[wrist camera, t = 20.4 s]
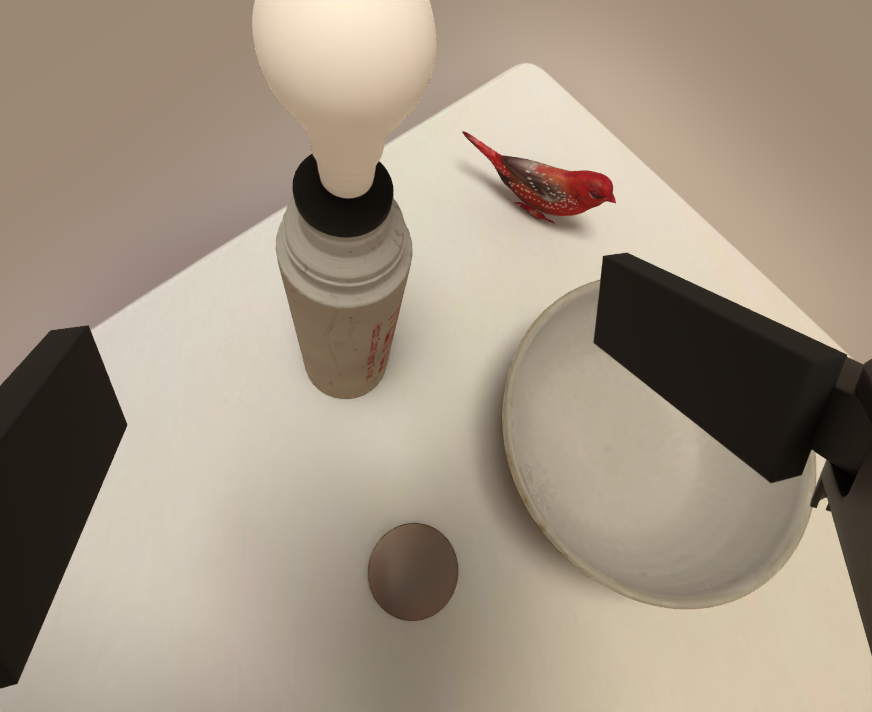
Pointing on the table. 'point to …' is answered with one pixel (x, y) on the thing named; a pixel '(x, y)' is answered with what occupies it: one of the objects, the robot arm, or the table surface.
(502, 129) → the table surface
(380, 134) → the lightbulb
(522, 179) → the decorative bird figurine
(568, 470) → the decorative bowl
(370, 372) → the thermos bottle
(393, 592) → the walnut coaster
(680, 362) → the robot arm
